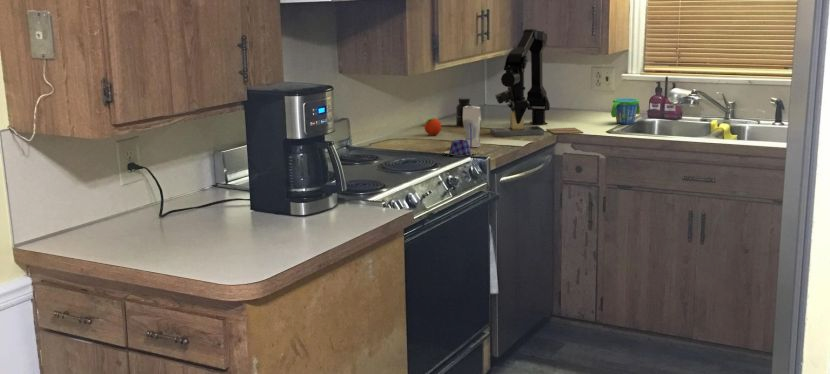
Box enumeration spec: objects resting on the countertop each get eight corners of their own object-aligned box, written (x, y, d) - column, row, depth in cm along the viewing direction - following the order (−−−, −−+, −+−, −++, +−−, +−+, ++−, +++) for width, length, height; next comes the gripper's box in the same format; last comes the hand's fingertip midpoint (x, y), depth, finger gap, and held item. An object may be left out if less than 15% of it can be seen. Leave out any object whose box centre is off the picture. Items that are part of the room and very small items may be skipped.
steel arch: (490, 132, 374) (490, 127, 373) (537, 130, 376) (537, 125, 376) (495, 136, 364) (495, 131, 364) (543, 134, 366) (544, 129, 366)
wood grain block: (510, 129, 372) (510, 110, 370) (520, 129, 372) (520, 109, 371) (512, 131, 367) (512, 111, 366) (523, 130, 368) (523, 111, 366)
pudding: (456, 150, 337) (456, 136, 336) (483, 153, 330) (483, 139, 329) (436, 155, 328) (436, 141, 327) (463, 159, 321) (463, 144, 320)
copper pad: (546, 129, 378) (546, 128, 377) (574, 128, 379) (574, 127, 379) (554, 134, 366) (554, 133, 366) (583, 133, 367) (583, 132, 367)
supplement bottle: (454, 126, 392) (453, 99, 389) (459, 124, 398) (459, 97, 395) (469, 127, 389) (469, 99, 386) (474, 125, 395) (474, 97, 393)
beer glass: (469, 148, 339) (468, 108, 335) (459, 146, 345) (459, 106, 342) (485, 147, 342) (484, 107, 339) (475, 144, 348) (475, 105, 345)
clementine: (432, 137, 366) (431, 119, 364) (419, 135, 371) (418, 118, 369) (444, 134, 372) (444, 117, 370) (432, 133, 376) (431, 116, 375)
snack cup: (619, 126, 382) (620, 102, 380) (603, 123, 391) (603, 99, 389) (647, 123, 390) (648, 99, 388) (630, 120, 399) (631, 97, 397)
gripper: (492, 82, 374) (492, 120, 377) (502, 87, 356) (502, 127, 359) (518, 81, 375) (518, 119, 379) (530, 86, 357) (529, 125, 361)
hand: (516, 122), depth 369 cm, fingers closed on wood grain block, 4 cm apart
